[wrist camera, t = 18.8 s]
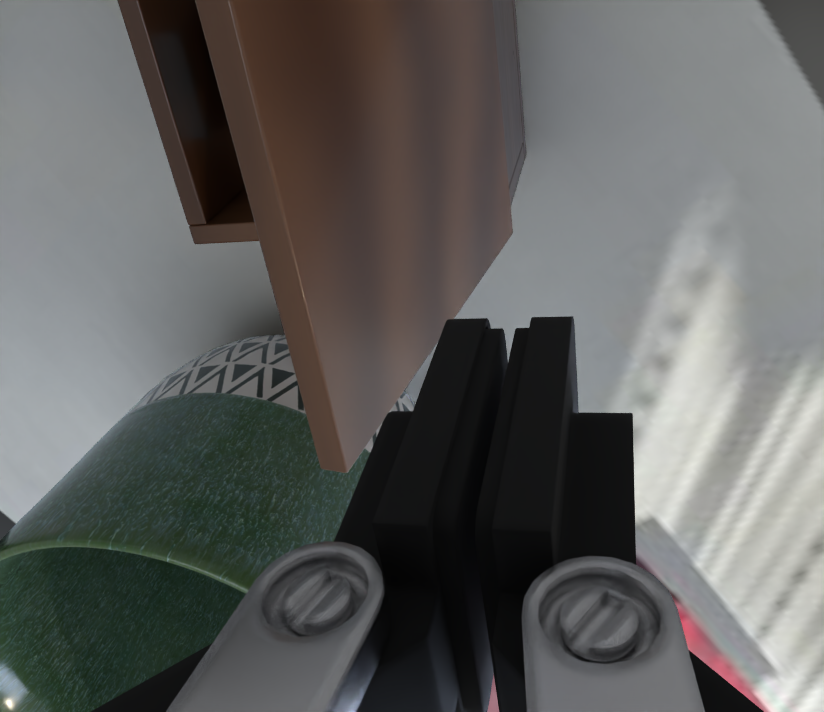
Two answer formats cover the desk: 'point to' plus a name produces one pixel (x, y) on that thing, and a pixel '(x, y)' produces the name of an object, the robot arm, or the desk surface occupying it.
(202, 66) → the chest
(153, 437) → the planter
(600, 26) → the desk surface
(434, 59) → the lid
